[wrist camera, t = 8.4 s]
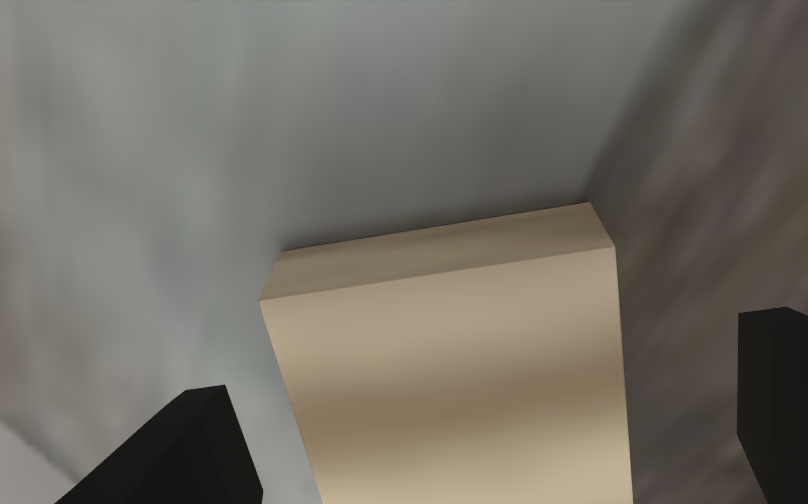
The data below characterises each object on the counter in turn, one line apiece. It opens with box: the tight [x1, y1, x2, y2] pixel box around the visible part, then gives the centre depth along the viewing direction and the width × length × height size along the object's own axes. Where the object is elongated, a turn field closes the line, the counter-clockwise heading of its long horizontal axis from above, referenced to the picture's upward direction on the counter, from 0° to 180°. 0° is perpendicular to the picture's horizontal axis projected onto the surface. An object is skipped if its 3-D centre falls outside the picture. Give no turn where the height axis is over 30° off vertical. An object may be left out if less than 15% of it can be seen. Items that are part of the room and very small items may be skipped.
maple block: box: [258, 202, 633, 504], centre depth 20 cm, size 9×9×3 cm
